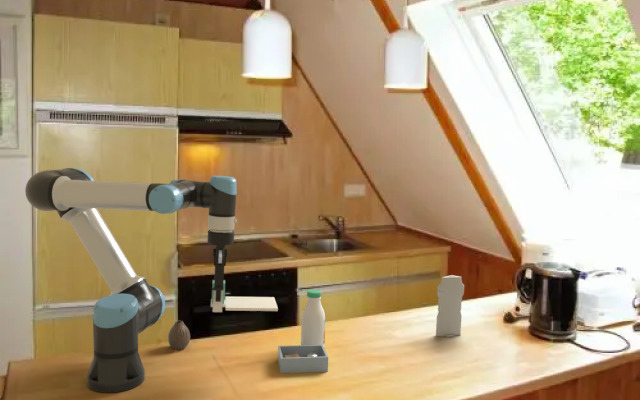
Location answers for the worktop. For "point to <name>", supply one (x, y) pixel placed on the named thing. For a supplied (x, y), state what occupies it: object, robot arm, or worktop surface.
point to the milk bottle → (313, 320)
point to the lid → (247, 302)
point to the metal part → (312, 355)
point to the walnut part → (291, 355)
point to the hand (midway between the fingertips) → (217, 308)
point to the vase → (179, 336)
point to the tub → (302, 359)
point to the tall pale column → (449, 306)
